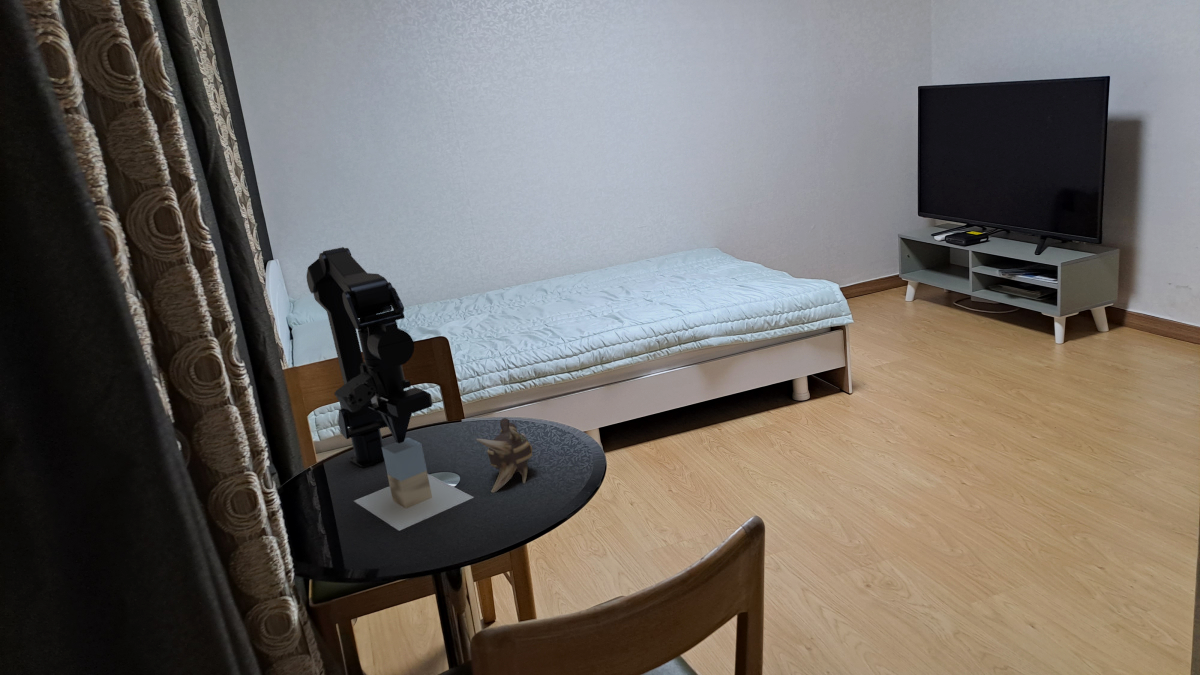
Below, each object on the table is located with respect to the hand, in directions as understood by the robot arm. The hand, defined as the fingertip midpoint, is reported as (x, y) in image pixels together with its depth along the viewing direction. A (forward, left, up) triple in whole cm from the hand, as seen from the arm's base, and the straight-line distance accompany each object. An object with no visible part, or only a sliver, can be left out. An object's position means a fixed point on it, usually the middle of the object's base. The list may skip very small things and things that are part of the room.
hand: (400, 442), depth 142 cm
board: (0, 0, -11) cm, 11 cm away
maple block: (0, 0, -11) cm, 11 cm away
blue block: (0, 0, -6) cm, 6 cm away
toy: (+6, +17, -11) cm, 21 cm away
